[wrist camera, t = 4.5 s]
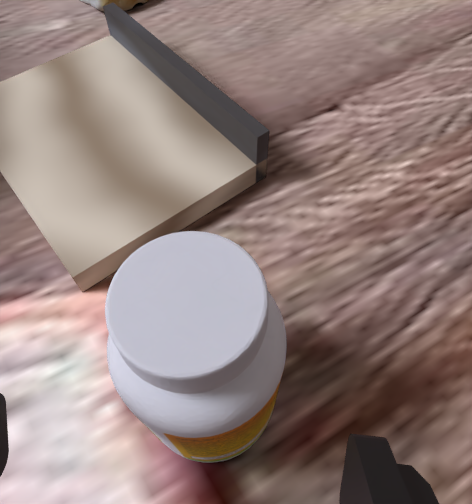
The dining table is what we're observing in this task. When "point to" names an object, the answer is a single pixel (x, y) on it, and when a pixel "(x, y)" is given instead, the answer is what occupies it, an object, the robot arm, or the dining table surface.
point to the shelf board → (122, 147)
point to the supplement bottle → (196, 344)
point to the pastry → (125, 3)
